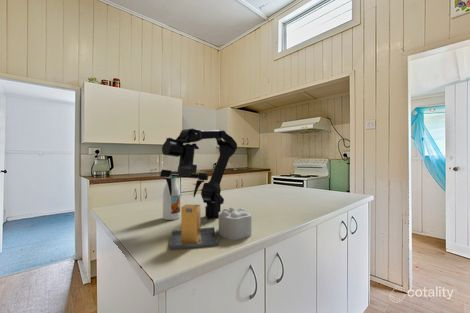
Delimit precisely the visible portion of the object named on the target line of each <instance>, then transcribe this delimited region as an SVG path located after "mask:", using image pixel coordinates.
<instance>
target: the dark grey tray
mask: <svg viewBox="0 0 470 313" xmlns="http://www.w3.org/2000/svg"><path fill="white" fill-rule="evenodd" d="M200 234H201V238H200V239H199V241H198V242H197V243H194V242H182V229H176V230H175V229H173V230H171V237H170V243H169V251H174V250H184V249H193V248H194V249H196V248H205V247H206V248H207V247H218V246H220V241H219V238H218V235H217V233H216V230H215V227H214V226H213V227H203V228H201V227H200Z"/></svg>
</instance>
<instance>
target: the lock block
mask: <svg viewBox="0 0 470 313" xmlns="http://www.w3.org/2000/svg"><path fill="white" fill-rule="evenodd" d="M180 218H181V230H182V242H194V243H197V242H198V241H199V239H200V238H201V234H200V228H201V204H185V205H183V206H180Z"/></svg>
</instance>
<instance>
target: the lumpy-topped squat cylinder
mask: <svg viewBox="0 0 470 313" xmlns="http://www.w3.org/2000/svg"><path fill="white" fill-rule="evenodd" d="M218 235H220V236H221V237H223V238H224V239H227V240H231V241H237V240H241V239H244V238H249V237H252V214H251V213H249V212H247V211H246V209H245V208H242V207H241V208H239V209H236V208H235V207H233V206H232V207H229V208H224V209H222V210H221V211H220V212H219V218H218Z"/></svg>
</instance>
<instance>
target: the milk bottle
mask: <svg viewBox="0 0 470 313" xmlns="http://www.w3.org/2000/svg"><path fill="white" fill-rule="evenodd" d="M171 178H172V195H171V196H170V192H169V187H168V183H167V182H165V186H164V188H163V191H162V218H163V220H165V221H174V220H178V219H180V218H181V192H180V187H179V186H178V182H177V178H178V177H175V176H172V177H171Z"/></svg>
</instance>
